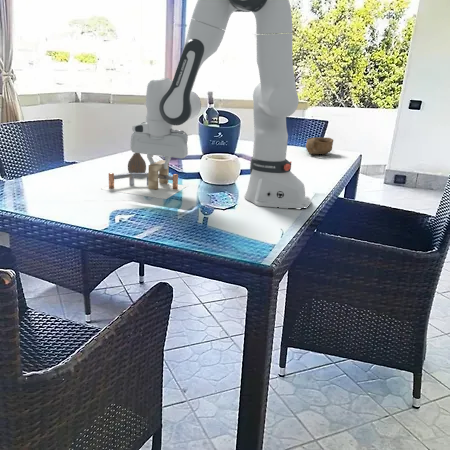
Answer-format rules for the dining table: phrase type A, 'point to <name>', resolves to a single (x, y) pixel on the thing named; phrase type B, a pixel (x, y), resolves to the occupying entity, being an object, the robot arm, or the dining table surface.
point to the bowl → (319, 145)
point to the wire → (132, 175)
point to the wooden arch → (154, 174)
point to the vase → (136, 164)
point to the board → (145, 188)
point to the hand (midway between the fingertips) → (158, 168)
